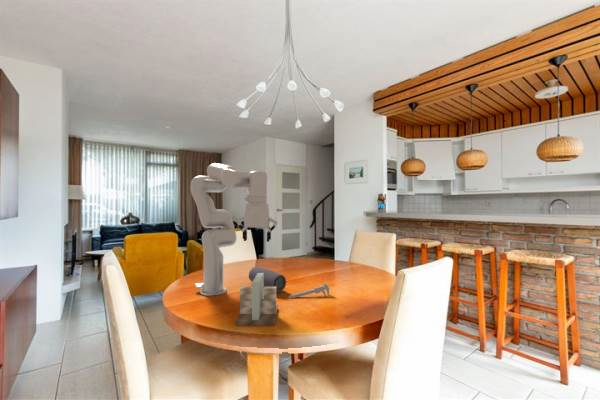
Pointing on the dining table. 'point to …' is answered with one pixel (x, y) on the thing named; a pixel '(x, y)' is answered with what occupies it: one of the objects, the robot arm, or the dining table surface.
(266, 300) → the slotted stand
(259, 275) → the slotted plate
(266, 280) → the bluetooth speaker
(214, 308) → the dining table surface
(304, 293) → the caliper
